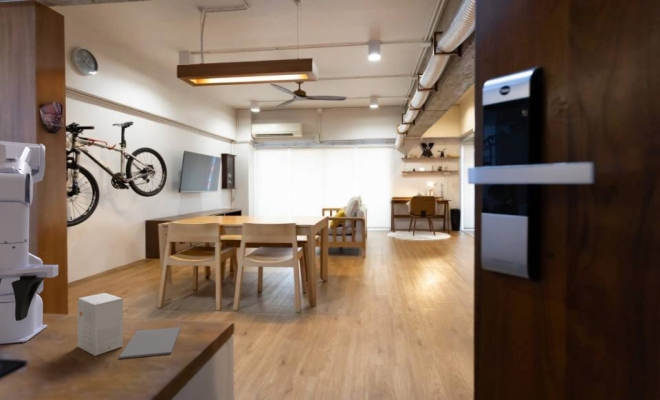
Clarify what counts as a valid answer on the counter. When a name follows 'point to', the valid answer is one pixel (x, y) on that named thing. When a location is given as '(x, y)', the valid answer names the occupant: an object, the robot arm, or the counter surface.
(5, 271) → the robot arm
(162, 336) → the gray mat
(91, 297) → the small box
